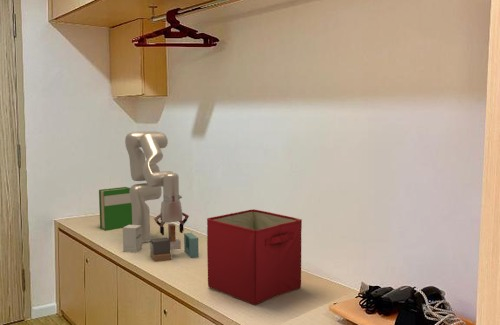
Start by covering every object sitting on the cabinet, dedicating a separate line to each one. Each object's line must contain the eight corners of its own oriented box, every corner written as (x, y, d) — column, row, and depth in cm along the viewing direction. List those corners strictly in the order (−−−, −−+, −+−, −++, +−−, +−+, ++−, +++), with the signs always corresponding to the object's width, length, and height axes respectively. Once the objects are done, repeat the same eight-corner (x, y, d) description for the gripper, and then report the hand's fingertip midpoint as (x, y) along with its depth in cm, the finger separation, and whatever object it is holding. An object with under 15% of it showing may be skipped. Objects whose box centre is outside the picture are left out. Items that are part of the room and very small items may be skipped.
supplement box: (136, 252, 261) (135, 228, 260) (122, 251, 263) (122, 227, 262) (142, 248, 269) (141, 224, 267) (129, 248, 270) (128, 224, 269)
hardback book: (105, 230, 309) (103, 191, 306) (100, 228, 314) (98, 189, 312) (132, 226, 320) (131, 188, 317) (126, 224, 326) (125, 186, 323)
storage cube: (306, 289, 207) (307, 218, 204) (259, 308, 188) (259, 230, 185) (249, 271, 230) (249, 207, 227) (202, 287, 210) (201, 217, 207)
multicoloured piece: (150, 250, 251) (149, 225, 250) (178, 246, 256) (178, 223, 255) (152, 252, 247) (151, 227, 246) (180, 248, 253) (180, 224, 252)
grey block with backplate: (150, 256, 254) (150, 238, 253) (166, 254, 257) (166, 236, 256) (154, 261, 245) (154, 242, 244) (171, 259, 248) (171, 241, 247)
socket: (184, 251, 262) (184, 233, 261) (191, 251, 263) (191, 232, 262) (191, 258, 251) (190, 238, 250) (198, 257, 252) (198, 237, 251)
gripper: (186, 196, 257) (186, 230, 259) (151, 198, 251) (152, 233, 252) (190, 198, 250) (191, 233, 252) (155, 201, 244) (156, 237, 246)
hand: (171, 233), depth 252 cm, fingers open, 8 cm apart
